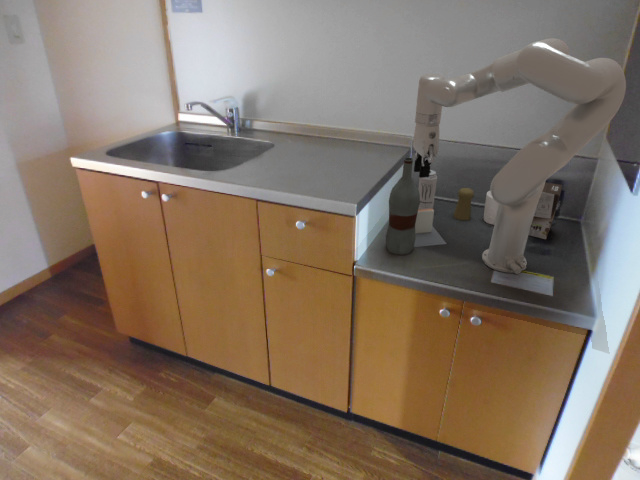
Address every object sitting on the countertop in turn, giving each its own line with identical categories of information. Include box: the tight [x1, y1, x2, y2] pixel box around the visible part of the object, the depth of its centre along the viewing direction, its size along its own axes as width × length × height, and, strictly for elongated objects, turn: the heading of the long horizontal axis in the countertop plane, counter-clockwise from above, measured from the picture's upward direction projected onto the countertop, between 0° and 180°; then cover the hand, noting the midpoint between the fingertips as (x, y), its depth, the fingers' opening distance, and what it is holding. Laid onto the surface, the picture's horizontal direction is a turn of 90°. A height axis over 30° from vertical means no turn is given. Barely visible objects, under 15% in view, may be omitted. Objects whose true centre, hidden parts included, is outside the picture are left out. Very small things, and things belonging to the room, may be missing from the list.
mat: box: [413, 225, 447, 248], centre depth 147 cm, size 14×11×1 cm
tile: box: [415, 208, 435, 233], centre depth 147 cm, size 2×7×8 cm, turn 99°
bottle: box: [385, 156, 420, 256], centre depth 133 cm, size 9×9×30 cm
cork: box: [453, 187, 475, 221], centre depth 155 cm, size 6×6×11 cm
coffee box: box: [528, 181, 563, 240], centre depth 145 cm, size 9×6×16 cm
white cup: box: [482, 190, 499, 226], centre depth 154 cm, size 8×8×10 cm
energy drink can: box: [417, 169, 438, 210], centre depth 160 cm, size 6×6×15 cm
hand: (421, 173), depth 143 cm, fingers open, 4 cm apart
